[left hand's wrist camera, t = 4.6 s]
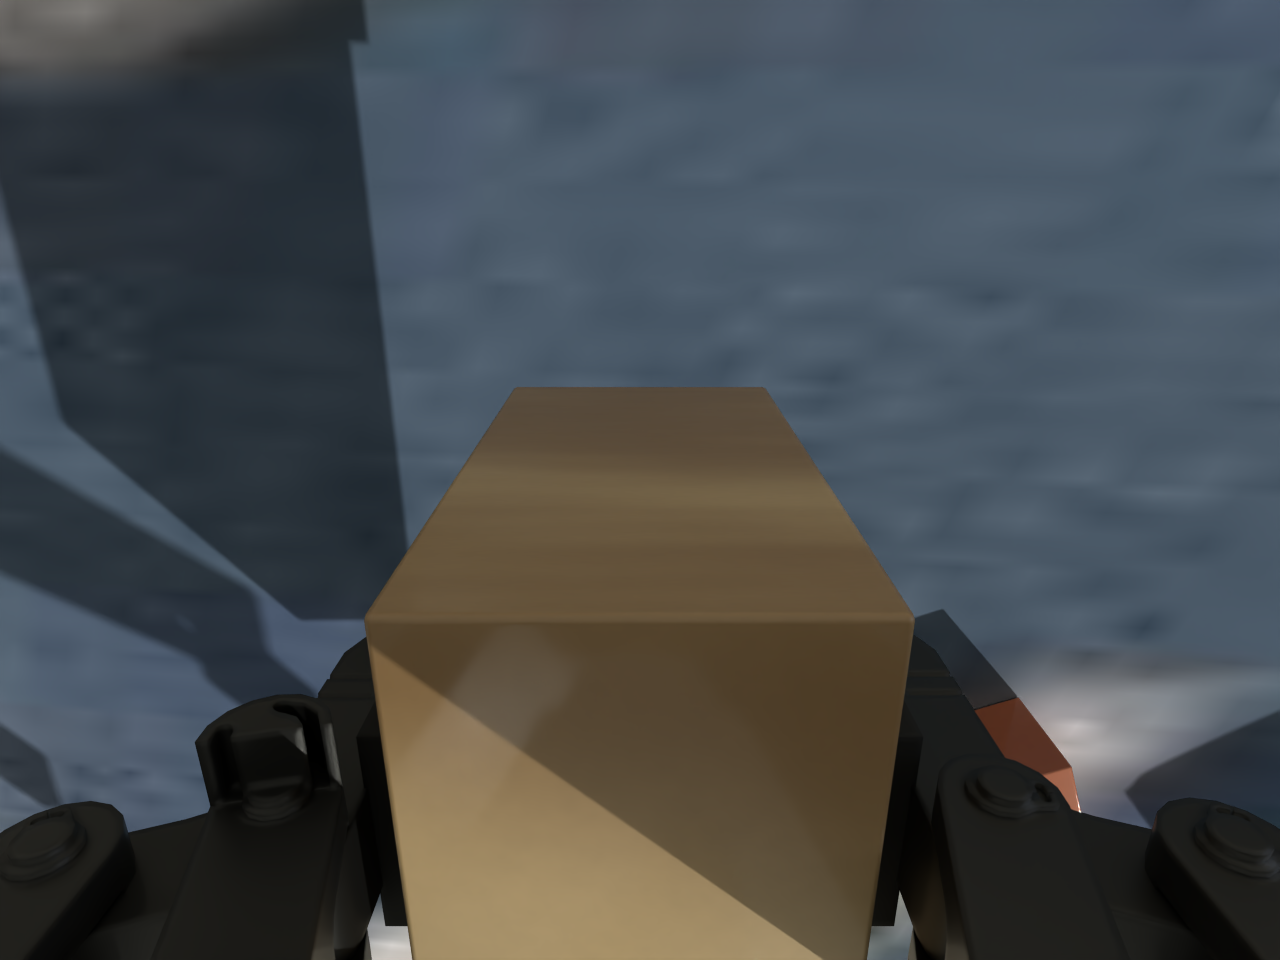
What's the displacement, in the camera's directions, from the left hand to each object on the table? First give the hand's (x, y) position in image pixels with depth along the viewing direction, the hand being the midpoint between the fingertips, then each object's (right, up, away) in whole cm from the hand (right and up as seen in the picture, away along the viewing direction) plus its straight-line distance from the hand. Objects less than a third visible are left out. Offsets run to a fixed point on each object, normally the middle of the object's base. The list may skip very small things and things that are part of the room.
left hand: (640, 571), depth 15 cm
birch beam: (0, -8, +3) cm, 9 cm away
